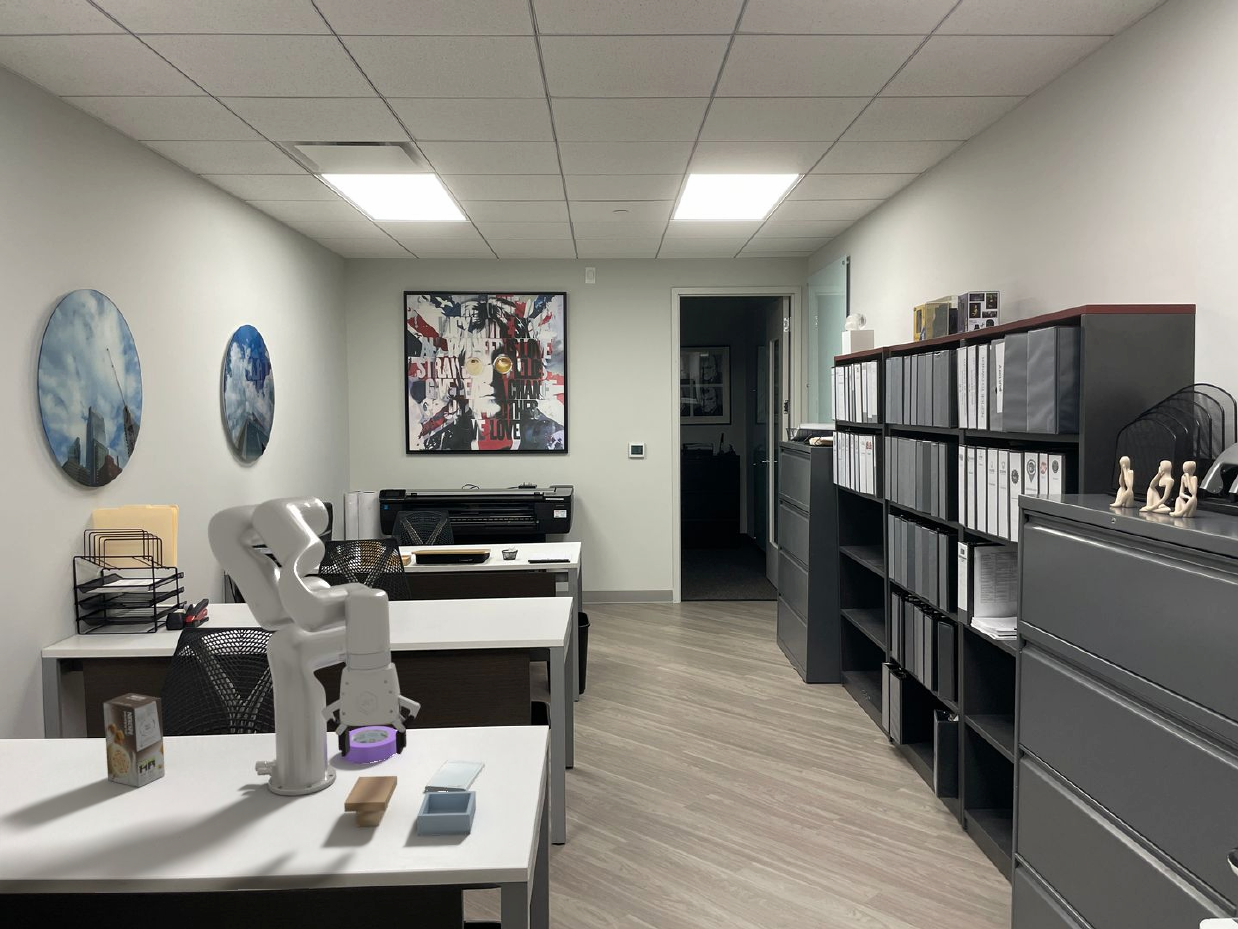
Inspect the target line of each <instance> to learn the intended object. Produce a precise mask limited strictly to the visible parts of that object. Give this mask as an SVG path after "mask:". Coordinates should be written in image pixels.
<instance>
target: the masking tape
mask: <svg viewBox="0 0 1238 929" xmlns="http://www.w3.org/2000/svg"><path fill="white" fill-rule="evenodd" d="M396 732H397V729H396V728H395V729H394V728H393V727H389V726H385V725H369V726H365V727H363V726H362V727H358V728H355V729H353V730H351V731H350V730H349V734H350V751H349V753H348V754H347V756H345V757H342V759H343V760H344V761H346V762H348V763H351V764H357V765H358V764H359V765H363V764H362V763H369V764H371V763H370V762H374V761H379V760H384V759H387V758H389V757H390V756H392V755H393V754H396ZM396 755H397V754H396ZM389 759H390V758H389ZM387 760H388V759H387ZM384 761H385V760H384Z"/></svg>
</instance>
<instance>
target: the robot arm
mask: <svg viewBox="0 0 1238 929" xmlns="http://www.w3.org/2000/svg"><path fill="white" fill-rule="evenodd" d="M328 525H329V513H328V510H327V507H326V505H324V503H323V502H322V501H321V500H320V498H316V497H315V496H311V495H300V496H290V497H280V498H273V499H269V500H268V499H267V500H266V501H264V502H262V503H257V504H256V503H255V504H247V505H238V506H232V507H228V508H225V509H223V510H220V511H218V512H216V513H215V514H214V515H212V517H211V518H210V520H209V523H208V527H207V538H208V542H209V547H210V549H211V552H212V553H213V554H212V555H213V556H214V558H215V560H216V561H217V563H218V564H219V565H220V567H221V568H222V569H223V570H224V571H225V573H226V574H227V575H228V576H229V577H230V578H231V579H232V580H233V582H234V583H235V585H236V586H237V588H238V590H239V592H240V594H241V595H242V598H243V599H244V602H245V603H246V605H247V607H248V608H249V610H250V612H251V614H252V616H253V617H254V619H255V621H256V623H257V624H258V625H259V626H260V627H261V628H262V629H263V630H265V631H268V632H269V631H270V632H271V631H275V632H274V633H273V634H272V635H271V636H270V637H269V638H268V641H267V644H266V655H267V661H268V665H269V669H270V674H271V680H272V687H273V688H272V689H273V707H274V729H275V730H274V732H275V733H274V734H275V757H276V758H274V759H272V761H267V760H260V761H256V762H255V766H254V768H255V769H254V770H255V772H256V773H257V776H268V775H269V779H268V789H269V791H271V793H273V794H277V795H280V796H303V795H309V794H311V793H315V792H316V793H317V792H319V791H322V790H323V789H326V788H327V787H329V786H330V785H332V784H333V783H334V782H335V780H336V779H337V772H336V771H337V770H336V769H335V767H333V766H331V765H329V764H328V762H329V761H328V732H327V731H328V730H327V729H328V728H327V725H328V726H329V727H330V728H331V729H332V730H333V731H334V732H335V734H336V736H337V738H338V739H337V742H338V751H341V758H343V757H345V756H347V754H348V753H349V751H350V734H349V732H350V729H348V727H357V726H358V727H363V726H365V727H368V726H385V725H390V724H391V725H393V726H394V727H395V729H396V731H397V732H396V753H397V754H396V755H401V754H402V752H403V750H404V749H405V748H406V747H407V745H408V744H407V729H408V727H410V725H412V723H413V722H414V721H415V719H416V717H417V715H418V712H419V710H420V708H421V704H420V703H419V702H417V701H414V700H412V699H410V698H407V697H405V696H403V695H401V689H400V683H399V677H398V672H397V668H396V664H395V663H394V662H392V653H391V632H390V631H391V629H390V610H389V608H390V604H389V597H388V593H387V592H386V591H384V590H383V589H380V588H370V587H369V586H367V585H365V584H363V583H360V582H350V583H344V584H339V585H332V586H331V585H330V584H329V583H328V582H327V581H326V580H324V579H323V578H320V577H318V576H307V575H308V574H309V573H311V572H312V571H313V570H314V569H316V568H317V567H318V566H319V564H321V562H322V561H323V559H324V557H325V553H326V549H325V543H324V542H323V541H322V540H321V539H320V538H319V536H320V535H322V534H323V533H325V531H326V530H327V528H328ZM260 545H261V546H262V545H265V546H266V547H267V549H268V550H269V551H270V552H271V554H272V555H273V557H274V558H275V559H276V561H277V562H278V563H279V565H281V569H280V568H279V566H278V565H277V563H276V562H275V561H274V560H273V559H272V558H270V556H268V555H267V554H265V553H263V552H261V551H260V550H257V549H256V548H254V547H253V546H260ZM306 576H307V577H306ZM343 662H344V663H345V667H344V668H343V669H342V672H341V676H340V677H341V678H340V686H339V688H340V689H339V691H340V692H339V699H338V700H336V701H334V702H332V703H330V704H329V705H327V702H326V701H327V700H326V697H327V696H326V690H325V687H324V686H323V684H322V683H321V682H320V680H319V679H318V678H317V677H316V676H315V674H314V672H315V671H317V670H319V669H323V668H326V667H330V666H333V665H337V664H340V663H343ZM402 707H404V708H406V709H408V710H409V711H410V712H409V714H408V715H407V716H405V717H403V715H402V714H401V712H402ZM337 710H339V719H338V718H337V717H335V716H334V713H333V712H335V711H337Z"/></svg>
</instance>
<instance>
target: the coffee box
mask: <svg viewBox="0 0 1238 929" xmlns="http://www.w3.org/2000/svg"><path fill="white" fill-rule="evenodd" d="M103 715H104V717H103V718H104V732H105V734H104V735H105V750H106V752H105V753H106V767H107V780H108V781H110V782H114V783H119V784H123V785H128V786H131V787H136V788H140V787H143V786H146V785H148V784H150V783H152V782H153V781H156V780H158V779H161V778H163V777H164V776H165V775H166V774H165V770H166V769H165V752H164V751H165V750H164V749H165V748H164V734H163V732H164V730H163V717H162V716H163V714H162V698H161V697H157V696H150V695H146V694H145V695H144V694H138V693H134V692H129V693H125V694H122V695H120V696H117V697H113V698H112V699H110V700H107V701H104V702H103Z"/></svg>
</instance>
